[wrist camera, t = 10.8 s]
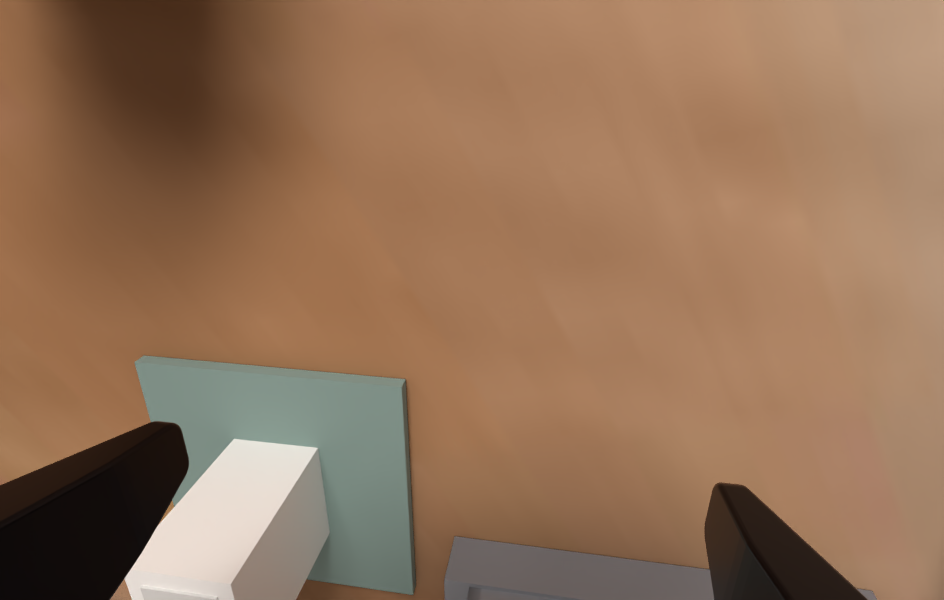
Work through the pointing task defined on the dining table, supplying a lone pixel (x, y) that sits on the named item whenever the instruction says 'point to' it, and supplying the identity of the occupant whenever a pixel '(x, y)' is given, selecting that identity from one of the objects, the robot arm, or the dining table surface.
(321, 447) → the rubber mat
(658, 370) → the dining table surface
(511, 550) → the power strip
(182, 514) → the charger
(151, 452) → the robot arm
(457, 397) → the dining table surface
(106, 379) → the dining table surface
